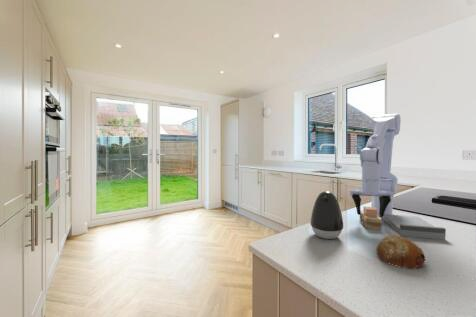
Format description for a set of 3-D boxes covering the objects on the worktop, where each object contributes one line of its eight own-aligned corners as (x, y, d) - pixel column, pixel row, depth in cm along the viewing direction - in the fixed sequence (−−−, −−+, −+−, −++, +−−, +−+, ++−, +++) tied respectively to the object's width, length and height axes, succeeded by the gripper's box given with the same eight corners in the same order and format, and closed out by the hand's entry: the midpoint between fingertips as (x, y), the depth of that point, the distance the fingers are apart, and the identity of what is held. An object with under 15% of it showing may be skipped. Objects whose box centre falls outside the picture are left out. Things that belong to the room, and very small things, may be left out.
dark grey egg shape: (307, 239, 71) (308, 193, 70) (313, 228, 80) (313, 187, 80) (342, 245, 66) (343, 195, 66) (343, 233, 76) (344, 189, 75)
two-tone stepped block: (359, 220, 89) (359, 210, 89) (373, 221, 88) (373, 211, 88) (366, 228, 80) (366, 218, 79) (381, 230, 78) (381, 219, 78)
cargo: (363, 212, 86) (363, 206, 86) (373, 213, 85) (373, 207, 85) (366, 215, 82) (366, 209, 82) (377, 216, 81) (377, 209, 81)
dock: (382, 218, 90) (382, 210, 90) (417, 221, 87) (417, 212, 87) (401, 235, 73) (401, 225, 73) (445, 239, 70) (445, 228, 69)
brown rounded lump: (386, 261, 64) (373, 234, 66) (428, 256, 58) (413, 226, 60) (382, 277, 56) (367, 245, 58) (430, 273, 50) (412, 238, 52)
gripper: (351, 180, 81) (351, 216, 82) (397, 181, 77) (396, 219, 78) (348, 177, 88) (347, 211, 89) (389, 179, 84) (388, 214, 84)
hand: (369, 214), depth 83 cm, fingers open, 7 cm apart
